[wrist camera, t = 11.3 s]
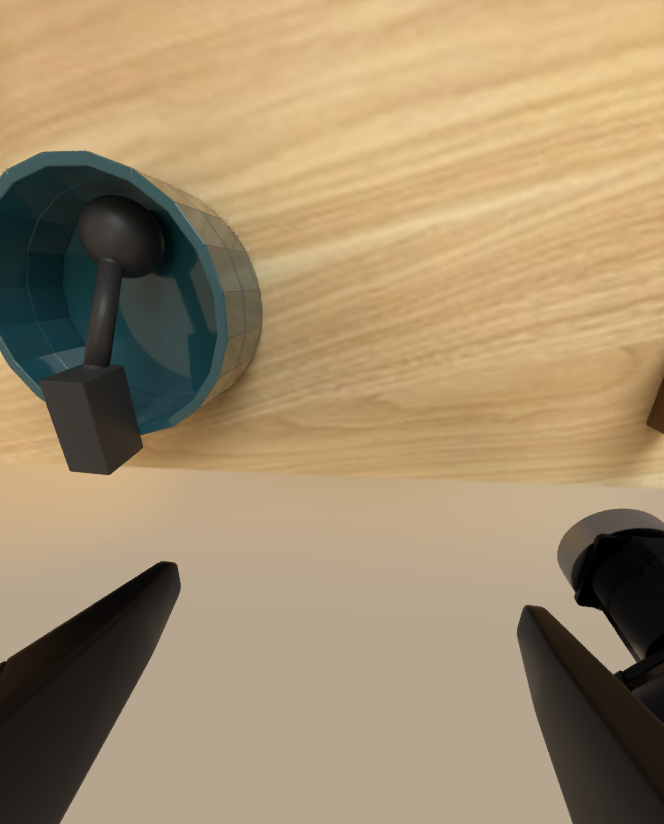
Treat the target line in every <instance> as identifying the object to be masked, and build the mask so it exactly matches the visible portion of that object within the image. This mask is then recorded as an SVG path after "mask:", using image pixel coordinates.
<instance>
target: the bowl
mask: <svg viewBox="0 0 664 824" xmlns="http://www.w3.org/2000/svg"><path fill="white" fill-rule="evenodd" d="M104 195H119V196H124V197H127V198H130V199H132V200H134V201H136V202H138V203H139V204H141V205H142V206H144V207H145V208H146V209H147V210H148V211H149V212H150V213H151V214H152V215H153V216H154V217H155V219H156V220H157V222H158V223H159V225H160V227H161V229H162V232H163V235H164V239H165V253H164V257H163V259H162V262H161V263H160V265H159V266H158V267H157V269H156V270H154V271H153V272H152V273H150V274H148V275H146V276H144V277H140V278H122V283H121V290H120V298H119V305H118V312H117V319H116V326H115V334H114V341H113V348H112V355H111V362H110V365H123V366H124V369H125V374H126V378H127V382H128V386H129V390H130V394H131V399H132V403H133V407H134V411H135V415H136V419H137V423H138V428H139V432H140V435H144V434H148V433H152V432H156V431H160V430H163V429H167V428H171V427H173V426H175V425H177V424H178V423H179V422H181V421H182V420H184V419H185V418H186V417H188V416H189V415H191V414H192V413H194V412H195V411H196V410H198V409H199V408H201V407H202V406H203V405H205V404H206V403H208V402H209V401H210V400H212V399H213V398H215V397H216V396H217V395H219V394H220V393H222V392H223V391H224V390H226V389H227V388H228V387H230V386H231V385H233V384H234V383H235V382H236V380H237V379H238V378H239V377H240V376H241V375H242V373H243V372H244V371H245V370H246V368H247V366H248V365H249V363H250V361H251V360H252V357H253V355H254V353H255V350H256V348H257V344H258V341H259V337H260V331H261V324H262V304H261V294H260V289H259V285H258V281H257V277H256V274H255V271H254V268H253V266H252V263H251V261H250V259H249V257H248V255H247V253H246V251H245V249H244V247H243V245H242V244H241V242H240V241H239V239H238V238H237V236H236V235H235V233H234V232H233V231H232V230H231V228H230V227H229V226H228V225H227V224H226V222H225V221H224V220H223V219H222V218H221V217H219V216H218V215H217V214H216V213H215V212H214V211H213V210H212V209H211V208H209V207H208V206H207V205H205V204H204V203H202V202H201V201H200V200H198V199H196V198H195V197H193V196H192V195H191V194H189V193H187V192H185V191H183V190H181V189H178V188H176V187H174V186H172V185H169V184H167V183H165V182H163V181H160V180H158V179H156V178H154V177H152V176H149V175H147V174H145V173H143V172H140V171H138V170H136V169H134V168H131V167H129V166H126V165H123V164H121V163H118V162H115V161H113V160H110V159H107V158H105V157H102V156H99V155H97V154H94V153H92V152H89V151H88V152H87V151H53V152H41V153H39V154H37V155H35V156H33V157H31V158H29V159H27V160H25V161H23V162H21V163H19V164H17V165H15V166H13V167H11V168H9V169H7V170H6V171H4V173H3V174H2V175H1V177H0V352H1V353H2V355H3V357H4V358H5V360H6V362H7V363H8V365H9V366H10V368H11V369H12V370H13V371H14V372H15V373H16V374H17V375H18V376H19V377H20V378H21V379H22V380H23V382H24V383H25V384H26V385H27V386H28V387H29V388H30V389H31V390H32V391H33V392H34V393H35V394H36V395H37V396H38V397H39V398H40V399H42V400H43V401H45V399H44V396H43V393H42V391H41V388H40V385H39V382H38V381H39V380H41V379H44V378H46V377H49V376H52V375H54V374H57V373H60V372H62V371H65V370H68V369H70V368H73V367H76V366H78V365H81V364H83V362H84V355H85V348H86V341H87V334H88V328H89V321H90V314H91V307H92V300H93V293H94V287H95V280H96V273H97V266H98V265H96V264H95V263H94V262H93V261H92V260H91V259H90V257H89V256H88V255H87V253H86V252H85V250H84V248H83V247H82V244H81V242H80V239H79V234H78V220H79V216H80V214H81V212H82V210H83V208H84V207H85V206H86V205H87V204H88V203H89V202H90V201H92V200H93V199H95V198H97V197H100V196H104Z"/></svg>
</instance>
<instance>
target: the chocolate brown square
mask: <svg viewBox="0 0 664 824" xmlns="http://www.w3.org/2000/svg"><path fill="white" fill-rule="evenodd" d="M647 425H649V426H650V427H652V428H654V429H656V430H658V431H660V432H661V433H663V434H664V380H663V382H662V385H661V388H660V391H659V393H658V396H657V399H656V401H655V404H654V407H653V409H652V412H651V415H650V418H649V420H648V423H647Z"/></svg>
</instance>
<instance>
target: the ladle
mask: <svg viewBox="0 0 664 824" xmlns="http://www.w3.org/2000/svg"><path fill="white" fill-rule="evenodd" d="M78 234H79V239H80V242H81V244H82V247H83V248H84V250H85V252H86V253H87V255H88V256H89V257H90V259H91V260H92V261H93V262H94V263H95V264H96V265H98V266H97V273H96V280H95V287H94V293H93V300H92V307H91V314H90V321H89V328H88V334H87V341H86V348H85V355H84V362H83V364H81V365H78V366H76V367H73V368H70V369H68V370H65V371H62V372H60V373H57V374H54V375H52V376H49V377H46V378H44V379H41V380H39V381H38V382H39V385H40V388H41V391H42V393H43V396H44V399H45V402H46V405H47V408H48V410H49V413H50V416H51V419H52V422H53V425H54V428H55V430H56V433H57V436H58V439H59V442H60V445H61V447H62V450H63V453H64V456H65V459H66V462H67V464H68V467H69V470H70V471H72V472H83V473H93V474H103V475H110V474H112V473H113V472H114V471H115V470H116V469H118V468H119V467H120V466H121V465H123V464H124V463H125V462H126V461H127V460H129V459H130V458H131V457H132V456H134V455H135V454H136V453H137V452H138V451H140V450H141V449H142V448H143V444H142V440H141V436H140V432H139V428H138V423H137V419H136V415H135V411H134V407H133V403H132V399H131V394H130V390H129V386H128V382H127V378H126V374H125V369H124V366H123V365H110V362H111V355H112V348H113V341H114V334H115V326H116V319H117V312H118V305H119V298H120V290H121V283H122V278H140V277H144V276H146V275H148V274H150V273H152V272H153V271H154V270H156V269H157V267H158V266H159V265H160V263H161V262H162V259H163V257H164V253H165V239H164V235H163V232H162V229H161V227H160V225H159V223H158V222H157V220H156V219H155V217H154V216H153V215H152V214H151V213H150V212H149V211H148V210H147V209H146V208H145V207H144V206H142V205H141V204H139V203H138V202H136V201H134V200H132V199H130V198H127V197H124V196H119V195H104V196H100V197H97V198H95V199H93V200H92V201H90V202H89V203H88V204H87V205H86V206H85V207H84V208H83V210H82V212H81V214H80V216H79V220H78Z"/></svg>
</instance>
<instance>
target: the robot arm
mask: <svg viewBox="0 0 664 824" xmlns="http://www.w3.org/2000/svg"><path fill="white" fill-rule="evenodd" d="M604 540H606V541H604ZM603 541H604V542H603ZM180 589H181V583H180V578H179V572H178V567H177V564H176V563H174V562H167V561H161V562H159V563H157V564H155V565H154V566H152V567H151V568H149V569H148V570H146V571H144V572H143V573H141V574H140V575H138V576H137V577H135V578H133V579H132V580H130V581H129V582H127V583H126V584H124V585H123V586H121V587H119V588H118V589H116V590H115V591H113V592H112V593H110V594H108V595H107V596H105V597H104V598H102V599H101V600H99V601H98V602H96V603H94V604H93V605H91V606H90V607H88V608H87V609H85V610H83V611H82V612H80V613H79V614H77V615H76V616H74V617H73V618H71V619H69V620H68V621H66V622H65V623H63V624H61V625H60V626H58V627H57V628H55V629H54V630H52V631H51V632H49V633H47V634H46V635H44V636H43V637H41V638H40V639H38V640H36V641H35V642H33V643H32V644H30V645H29V646H27V647H26V648H24V649H22V650H21V651H19V652H18V653H16V654H15V655H13V656H11V657H10V658H9V659H8V660H7V662H6V661H4V662H2V663H0V824H60V822H61V820H62V819H63V817H64V815H65V813H66V811H67V810H68V808H69V806H70V804H71V802H72V800H73V798H74V797H75V795H76V793H77V791H78V790H79V788H80V786H81V784H82V782H83V780H84V778H85V777H86V775H87V773H88V771H89V770H90V768H91V766H92V764H93V762H94V760H95V758H96V757H97V755H98V753H99V751H100V749H101V748H102V746H103V744H104V742H105V740H106V739H107V737H108V735H109V733H110V731H111V729H112V728H113V726H114V724H115V722H116V720H117V719H118V717H119V715H120V713H121V711H122V709H123V708H124V706H125V704H126V702H127V700H128V699H129V697H130V695H131V693H132V691H133V689H134V688H135V686H136V684H137V682H138V680H139V678H140V677H141V675H142V673H143V671H144V669H145V667H146V666H147V664H148V662H149V660H150V658H151V656H152V654H153V652H154V650H155V648H156V646H157V643H158V641H159V639H160V637H161V635H162V632H163V630H164V628H165V625H166V623H167V621H168V619H169V616H170V614H171V612H172V609H173V607H174V605H175V603H176V600H177V598H178V596H179V593H180ZM574 599H575V601H576V603H577V604H578V605H579V606H583V607H591V608H600V609H601V610H602V611H603V613H604V614H605V616H606V617H607V619H608V620H609V622H610V623H611V625H612V626H613V628H614V629H615V631H616V632H617V634H618V635H619V637H620V638H621V640H622V641H623V643H624V644H625V646H626V647H627V649H628V650H629V652H630V653H631V655H632V656H633V658H634V659H635V661H636V662H637V663H636V664H634V665H632V666H631V667H629V668H627V669H626V670H624V671H618V672H617V673H615V674H612V673H611V672H610V671H609V670H608V669H607V668H606V667H605V666H604V665H603V664H602V663H601V662H600V661H598V659H597V658H595V657H594V656H593V655H592V654H591V653H590V652H589V651H588V650H587V649H586V648H585V647H584V646H583V645H582V644H581V643H580V642H579V641H578V640H577V639H576V638H575V637H574V636H573V635H572V634H571V633H570V632H569V631H568V630H567V629H566V628H565V627H564V626H563V625H561V624H560V622H559V621H558V620H556V619H555V618H554V617H553V616H552V615H551V614H550V613H549V612H548V611H547V610H546V609H545V608H543V607H539V606H532V605H526V606H525V607H524V608H523V610H522V614H521V617H520V621H519V624H518V628H517V637H518V642H519V647H520V651H521V655H522V659H523V663H524V667H525V672H526V676H527V680H528V684H529V689H530V693H531V697H532V701H533V705H534V708H535V712H536V716H537V719H538V722H539V725H540V728H541V731H542V734H543V737H544V740H545V743H546V746H547V749H548V752H549V755H550V758H551V761H552V764H553V767H554V770H555V773H556V776H557V779H558V782H559V784H560V787H561V790H562V793H563V796H564V799H565V802H566V805H567V808H568V811H569V814H570V817H571V820H572V823H573V824H664V539H660V538H650V537H640V536H625V535H615V534H605V533H604V534H599V535H597V536H596V537H595V539H594V542H593V545H592V548H591V550H590V553H589V556H588V559H587V562H586V564H585V567H584V570H583V573H582V575H581V578H580V581H579V584H578V587H577V589H576V592H575V595H574Z"/></svg>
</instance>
